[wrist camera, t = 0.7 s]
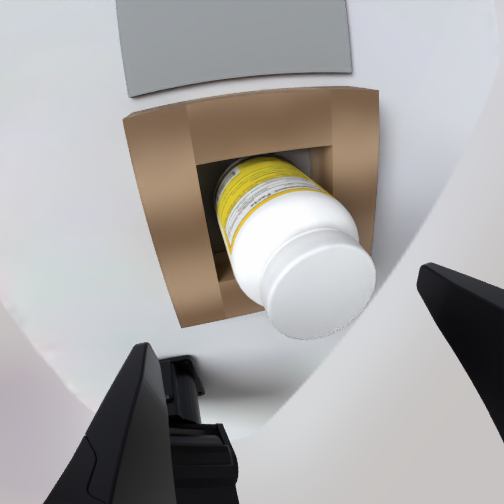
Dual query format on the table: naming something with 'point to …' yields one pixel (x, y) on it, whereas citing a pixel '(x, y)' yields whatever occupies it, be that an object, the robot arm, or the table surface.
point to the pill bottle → (292, 247)
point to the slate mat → (228, 40)
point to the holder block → (240, 145)
